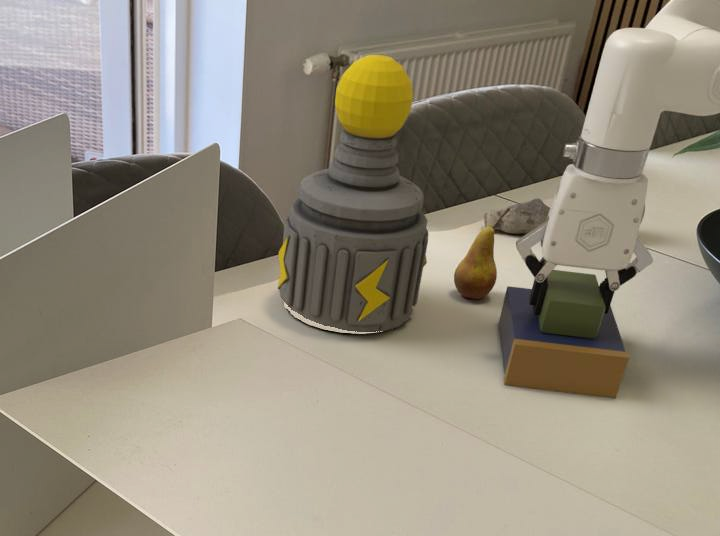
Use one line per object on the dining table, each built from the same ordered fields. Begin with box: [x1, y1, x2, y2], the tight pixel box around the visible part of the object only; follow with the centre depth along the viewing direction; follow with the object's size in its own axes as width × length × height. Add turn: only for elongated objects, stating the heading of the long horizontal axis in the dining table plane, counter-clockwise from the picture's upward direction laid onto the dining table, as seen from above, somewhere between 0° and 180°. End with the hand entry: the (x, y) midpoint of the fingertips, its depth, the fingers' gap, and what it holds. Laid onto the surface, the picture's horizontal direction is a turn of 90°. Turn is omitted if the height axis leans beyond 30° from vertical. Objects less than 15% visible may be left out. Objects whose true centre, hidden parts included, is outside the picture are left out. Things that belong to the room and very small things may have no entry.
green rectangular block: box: [538, 269, 605, 339], centre depth 121 cm, size 7×10×4 cm, turn 171°
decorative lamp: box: [277, 54, 429, 332], centre depth 124 cm, size 19×19×30 cm
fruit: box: [453, 208, 510, 300], centre depth 135 cm, size 6×6×12 cm
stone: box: [483, 197, 551, 235], centre depth 158 cm, size 10×5×8 cm
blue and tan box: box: [498, 285, 630, 399], centre depth 124 cm, size 13×18×5 cm
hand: (566, 313), depth 122 cm, fingers closed on green rectangular block, 6 cm apart
